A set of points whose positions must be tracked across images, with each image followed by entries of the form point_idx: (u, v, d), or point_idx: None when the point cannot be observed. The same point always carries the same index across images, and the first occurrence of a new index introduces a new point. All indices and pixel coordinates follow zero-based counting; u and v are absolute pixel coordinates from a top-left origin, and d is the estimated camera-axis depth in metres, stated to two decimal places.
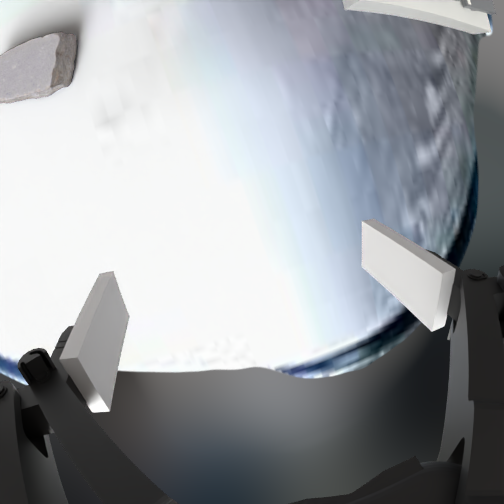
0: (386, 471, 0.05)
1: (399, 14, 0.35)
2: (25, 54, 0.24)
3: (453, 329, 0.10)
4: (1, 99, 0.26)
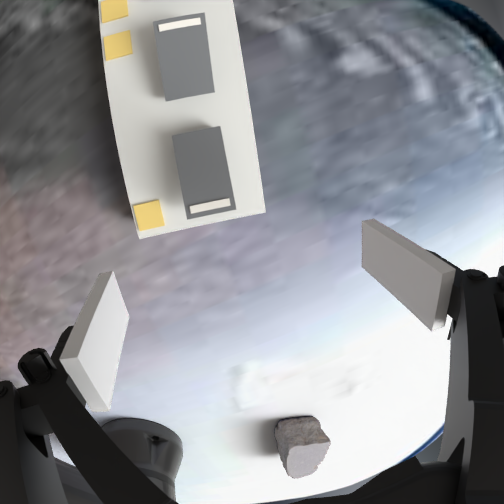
0: (386, 471, 0.05)
1: None
2: (297, 459, 0.45)
3: (453, 329, 0.10)
4: (320, 462, 0.48)
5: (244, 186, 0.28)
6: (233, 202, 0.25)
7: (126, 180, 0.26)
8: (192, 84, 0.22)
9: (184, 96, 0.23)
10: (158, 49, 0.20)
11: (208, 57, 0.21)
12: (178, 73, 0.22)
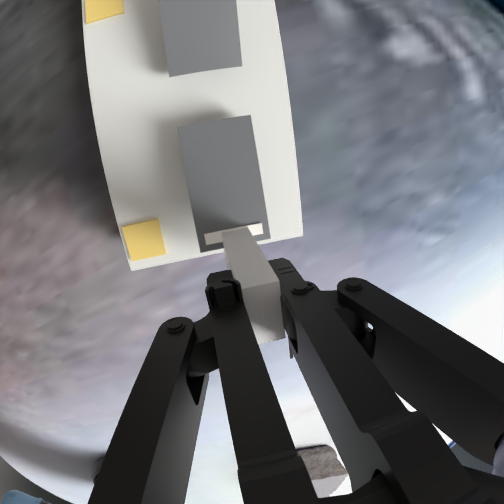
0: None
1: None
2: None
3: (294, 349, 0.11)
4: (333, 491, 0.41)
5: (276, 200, 0.21)
6: (266, 228, 0.18)
7: (111, 191, 0.18)
8: (210, 53, 0.14)
9: (197, 70, 0.15)
10: (161, 1, 0.12)
11: (235, 15, 0.13)
12: (189, 36, 0.14)
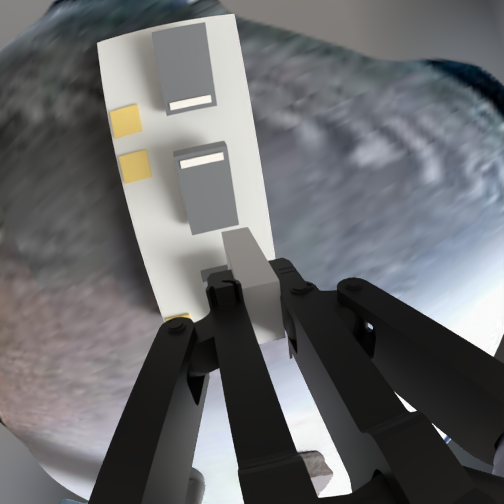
0: None
1: None
2: None
3: (294, 349, 0.11)
4: (322, 489, 0.50)
5: None
6: None
7: (157, 298, 0.30)
8: (217, 219, 0.26)
9: (210, 230, 0.26)
10: (181, 186, 0.24)
11: (232, 192, 0.25)
12: (203, 209, 0.25)
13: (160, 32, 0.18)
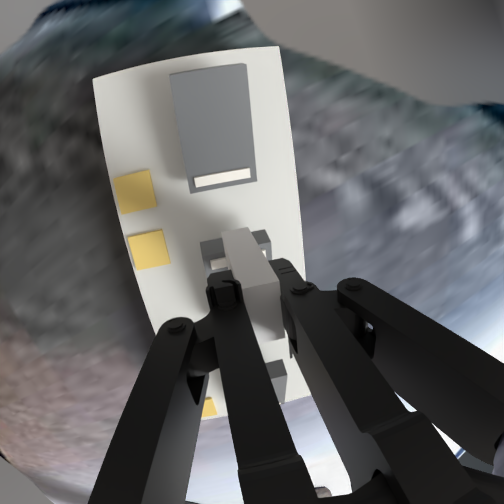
0: None
1: None
2: None
3: (294, 349, 0.11)
4: None
5: (294, 380, 0.28)
6: (283, 401, 0.26)
7: None
8: None
9: None
10: None
11: None
12: None
13: (182, 76, 0.14)
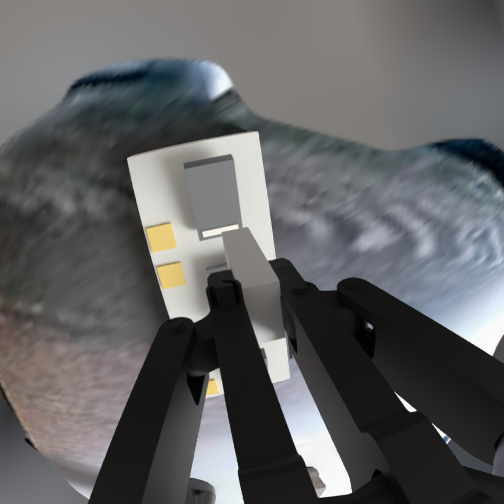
0: None
1: None
2: None
3: (294, 349, 0.11)
4: None
5: (275, 366, 0.38)
6: None
7: None
8: None
9: None
10: None
11: None
12: None
13: (192, 169, 0.24)
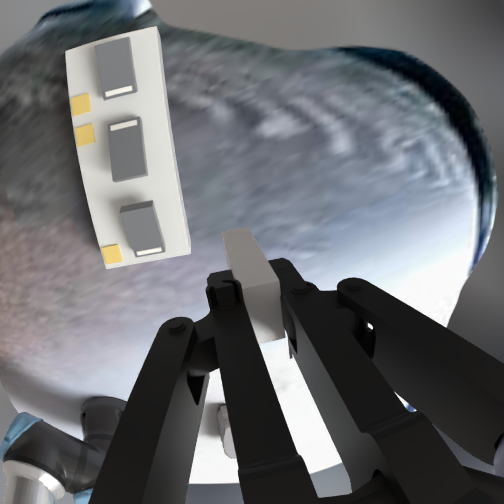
0: None
1: (178, 177, 0.41)
2: (232, 439, 0.57)
3: (294, 349, 0.11)
4: None
5: (174, 236, 0.40)
6: (163, 248, 0.39)
7: (96, 230, 0.38)
8: (130, 168, 0.33)
9: (125, 177, 0.33)
10: (109, 143, 0.32)
11: (141, 148, 0.33)
12: (121, 160, 0.33)
13: (99, 45, 0.26)
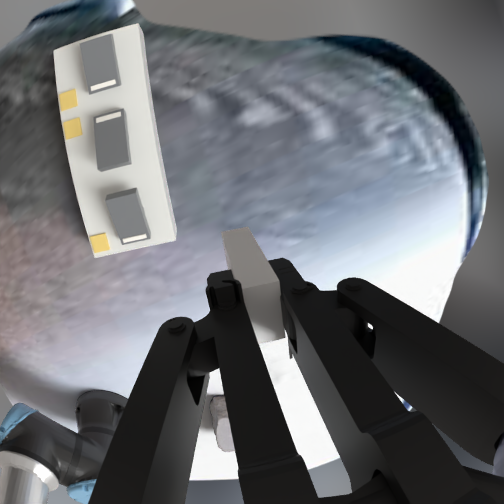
0: None
1: (163, 167, 0.42)
2: (225, 431, 0.57)
3: (294, 349, 0.11)
4: None
5: (159, 223, 0.41)
6: (148, 235, 0.39)
7: (84, 220, 0.39)
8: (114, 156, 0.33)
9: (109, 165, 0.33)
10: (95, 134, 0.33)
11: (125, 137, 0.33)
12: (106, 149, 0.33)
13: (84, 43, 0.27)
